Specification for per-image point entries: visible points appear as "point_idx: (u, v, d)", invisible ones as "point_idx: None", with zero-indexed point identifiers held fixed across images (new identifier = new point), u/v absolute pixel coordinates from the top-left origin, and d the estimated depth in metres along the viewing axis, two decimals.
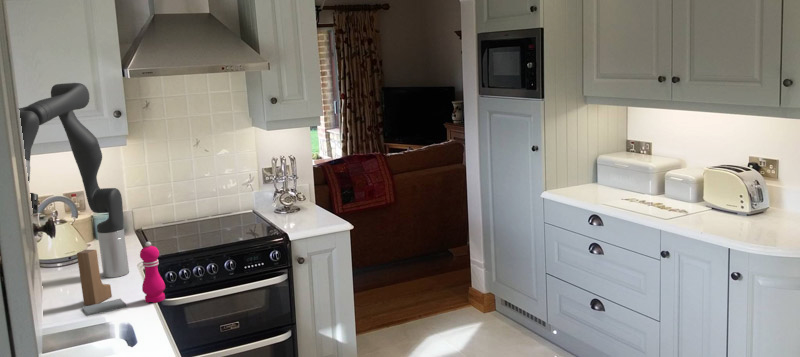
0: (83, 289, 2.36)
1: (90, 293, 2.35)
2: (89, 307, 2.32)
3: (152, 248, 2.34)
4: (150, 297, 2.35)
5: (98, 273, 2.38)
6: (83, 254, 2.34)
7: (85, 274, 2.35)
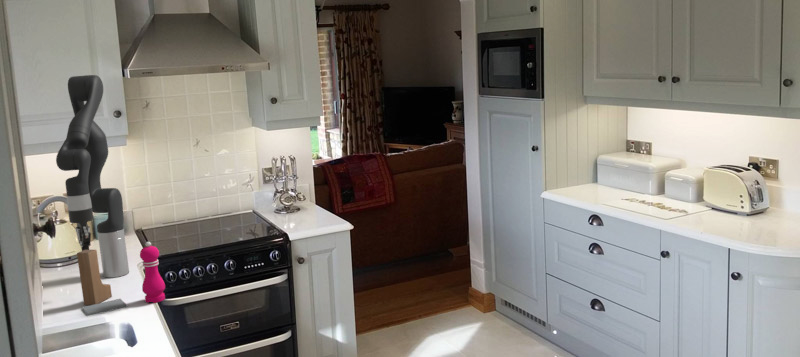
0: (83, 289, 2.36)
1: (91, 293, 2.35)
2: (89, 307, 2.32)
3: (152, 248, 2.34)
4: (150, 297, 2.35)
5: (98, 273, 2.38)
6: (83, 254, 2.34)
7: (85, 274, 2.35)
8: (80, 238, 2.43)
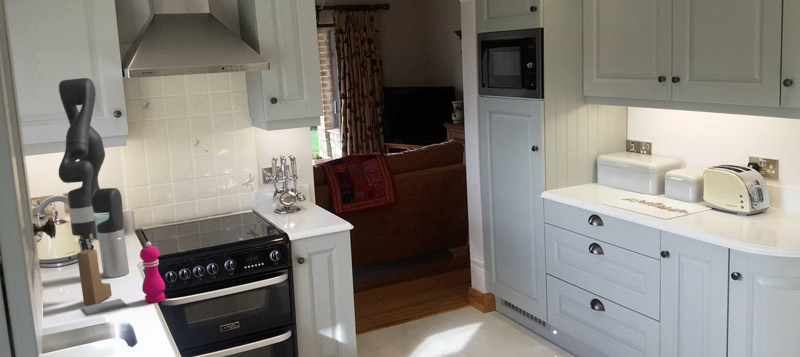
0: (83, 289, 2.36)
1: (91, 293, 2.35)
2: (89, 307, 2.32)
3: (152, 248, 2.34)
4: (150, 297, 2.35)
5: (98, 273, 2.37)
6: (83, 255, 2.33)
7: (85, 274, 2.34)
8: None
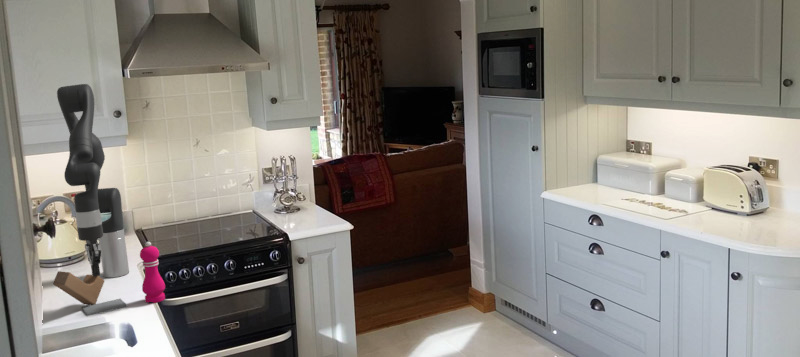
0: (76, 298, 2.32)
1: (85, 301, 2.33)
2: (89, 307, 2.32)
3: (152, 248, 2.34)
4: (150, 297, 2.35)
5: (83, 284, 2.29)
6: (60, 285, 2.21)
7: (72, 293, 2.27)
8: (90, 256, 2.33)
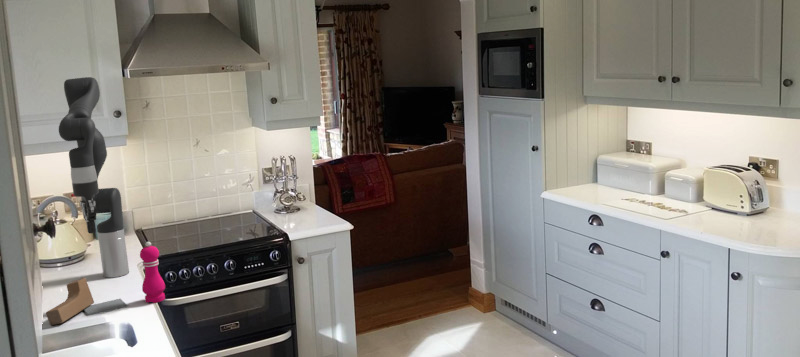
0: None
1: (85, 307, 2.32)
2: (89, 307, 2.32)
3: (152, 248, 2.34)
4: (150, 297, 2.35)
5: (73, 302, 2.26)
6: (58, 323, 2.19)
7: None
8: (85, 212, 2.29)
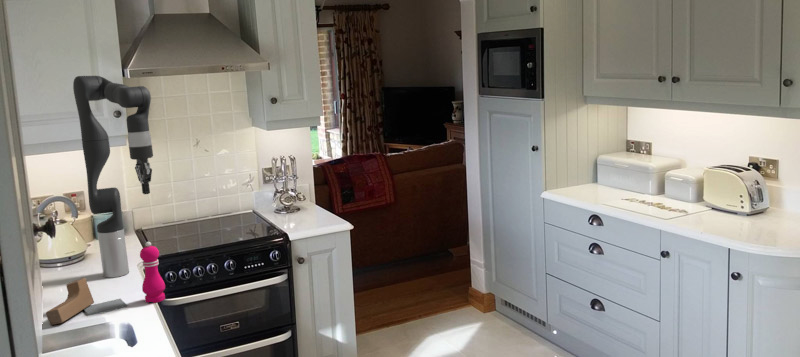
0: None
1: (85, 307, 2.32)
2: (89, 307, 2.32)
3: (152, 248, 2.34)
4: (150, 297, 2.35)
5: (73, 302, 2.26)
6: None
7: None
8: (141, 174, 2.47)
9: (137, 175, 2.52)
